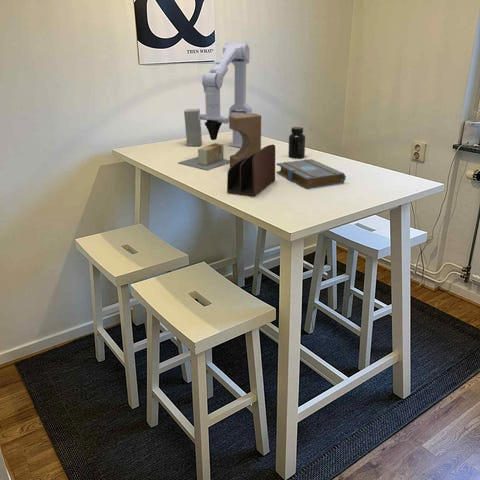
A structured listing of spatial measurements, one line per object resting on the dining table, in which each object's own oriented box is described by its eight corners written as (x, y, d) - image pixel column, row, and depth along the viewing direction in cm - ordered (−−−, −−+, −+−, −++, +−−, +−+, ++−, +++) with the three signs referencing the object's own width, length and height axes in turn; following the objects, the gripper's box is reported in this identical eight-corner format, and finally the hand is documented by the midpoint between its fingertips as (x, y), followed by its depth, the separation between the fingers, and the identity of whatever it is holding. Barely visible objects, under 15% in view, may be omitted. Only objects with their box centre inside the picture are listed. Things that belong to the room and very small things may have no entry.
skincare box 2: (224, 158, 198) (207, 166, 188) (215, 157, 200) (198, 165, 190) (223, 143, 195) (206, 150, 186) (214, 142, 197) (197, 149, 188)
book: (345, 184, 170) (346, 170, 167) (304, 190, 163) (305, 176, 161) (312, 169, 187) (313, 156, 185) (275, 174, 181) (275, 161, 179)
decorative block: (235, 171, 182) (235, 117, 174) (229, 167, 187) (228, 115, 179) (261, 167, 187) (262, 115, 179) (254, 164, 192) (254, 113, 183)
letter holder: (275, 180, 172) (276, 141, 166) (254, 197, 156) (255, 154, 150) (249, 177, 176) (250, 139, 170) (226, 193, 159) (226, 151, 153)
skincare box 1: (200, 146, 219) (199, 110, 212) (185, 146, 219) (183, 110, 213) (202, 142, 227) (201, 107, 220) (187, 142, 227) (185, 107, 220)
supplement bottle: (304, 154, 205) (305, 126, 200) (304, 158, 199) (306, 129, 194) (288, 154, 206) (289, 126, 201) (288, 158, 200) (289, 129, 195)
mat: (204, 155, 204) (204, 154, 204) (233, 161, 195) (233, 161, 195) (177, 163, 193) (177, 162, 193) (206, 170, 184) (206, 169, 183)
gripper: (192, 104, 190) (193, 138, 195) (220, 108, 181) (220, 144, 187) (204, 102, 195) (205, 135, 200) (232, 105, 186) (232, 140, 192)
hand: (213, 139), depth 194 cm, fingers closed
